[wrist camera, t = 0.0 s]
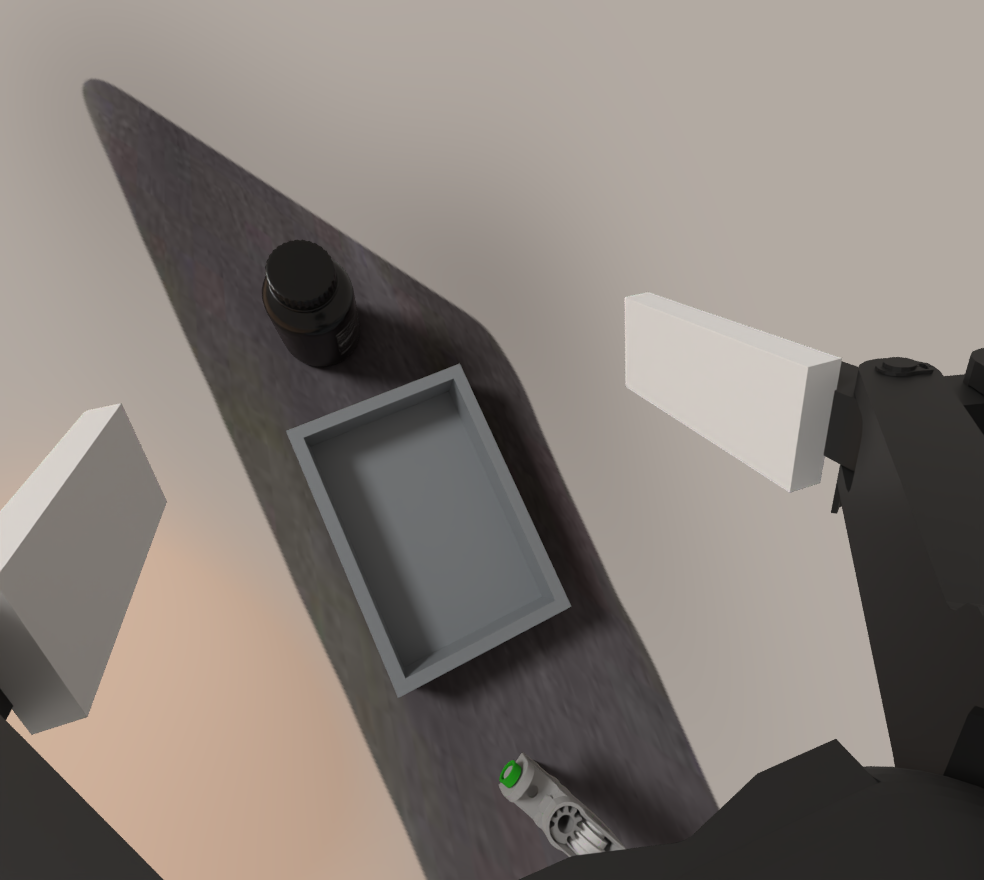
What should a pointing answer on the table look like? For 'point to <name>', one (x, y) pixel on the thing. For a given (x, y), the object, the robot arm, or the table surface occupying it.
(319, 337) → the supplement bottle
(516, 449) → the table surface
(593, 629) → the table surface
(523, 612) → the bin
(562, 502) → the table surface
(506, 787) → the mechanical component
